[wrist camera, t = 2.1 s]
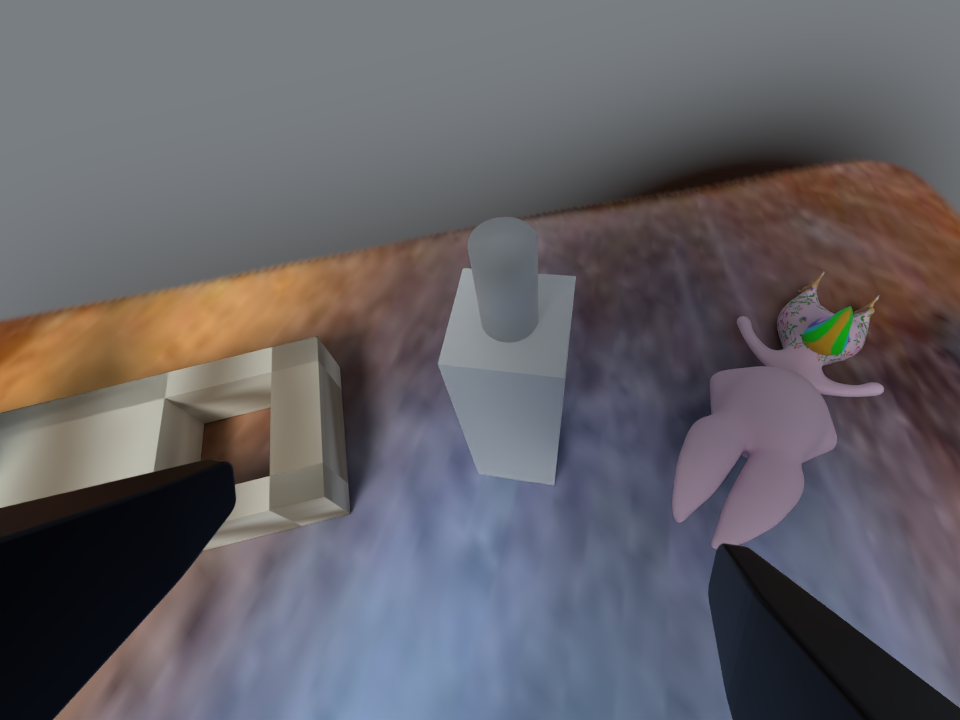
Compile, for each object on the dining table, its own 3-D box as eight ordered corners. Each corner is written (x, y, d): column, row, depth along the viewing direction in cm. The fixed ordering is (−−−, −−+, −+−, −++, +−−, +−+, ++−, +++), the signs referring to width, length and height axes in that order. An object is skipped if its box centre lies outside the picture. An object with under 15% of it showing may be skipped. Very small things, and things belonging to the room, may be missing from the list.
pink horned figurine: (755, 299, 26) (608, 495, 19) (816, 205, 21) (650, 421, 15) (878, 359, 24) (760, 609, 17) (977, 267, 19) (870, 563, 12)
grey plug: (554, 485, 21) (571, 308, 10) (478, 474, 21) (412, 294, 10) (561, 414, 22) (584, 193, 11) (491, 406, 23) (446, 187, 12)
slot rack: (339, 367, 25) (317, 336, 22) (350, 514, 21) (323, 496, 18) (-80, 469, 25) (-151, 449, 22) (-150, 638, 21) (-249, 638, 18)
